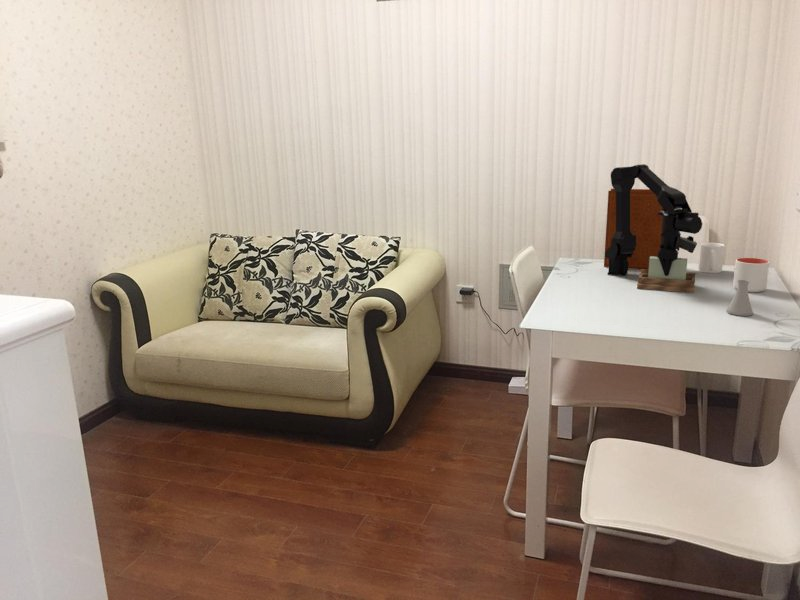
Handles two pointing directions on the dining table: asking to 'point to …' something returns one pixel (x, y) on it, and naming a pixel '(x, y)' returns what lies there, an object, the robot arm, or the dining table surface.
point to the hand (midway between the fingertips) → (666, 274)
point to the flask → (741, 300)
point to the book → (638, 226)
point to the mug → (711, 257)
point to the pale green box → (675, 271)
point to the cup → (751, 273)
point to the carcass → (666, 283)
